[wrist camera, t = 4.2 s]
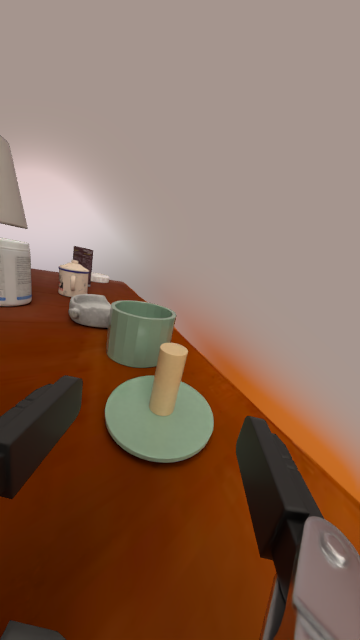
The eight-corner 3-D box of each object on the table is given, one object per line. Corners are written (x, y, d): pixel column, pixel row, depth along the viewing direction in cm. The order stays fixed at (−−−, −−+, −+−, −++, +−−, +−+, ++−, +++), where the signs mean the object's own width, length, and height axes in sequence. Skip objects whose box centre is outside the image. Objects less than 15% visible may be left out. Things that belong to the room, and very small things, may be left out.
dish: (85, 308, 54) (86, 291, 53) (133, 318, 55) (135, 301, 54) (51, 322, 40) (52, 300, 39) (116, 335, 41) (118, 313, 40)
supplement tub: (23, 296, 53) (21, 241, 49) (38, 306, 48) (38, 245, 44) (-28, 297, 45) (-34, 231, 41) (-15, 308, 40) (-21, 235, 36)
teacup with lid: (59, 290, 68) (60, 256, 65) (87, 293, 72) (89, 262, 69) (54, 298, 58) (55, 258, 55) (87, 301, 62) (90, 264, 59)
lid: (83, 404, 22) (89, 334, 19) (162, 373, 31) (172, 323, 29) (154, 503, 14) (177, 409, 12) (230, 422, 23) (251, 361, 21)
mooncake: (112, 282, 110) (113, 276, 109) (101, 283, 98) (101, 276, 98) (93, 278, 111) (93, 271, 110) (79, 278, 100) (80, 271, 99)
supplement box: (90, 286, 85) (93, 250, 81) (79, 286, 82) (82, 247, 77) (82, 282, 90) (84, 247, 86) (71, 282, 86) (73, 245, 82)
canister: (94, 344, 35) (98, 300, 33) (143, 336, 44) (149, 300, 42) (129, 375, 28) (137, 322, 26) (179, 358, 37) (188, 317, 35)
